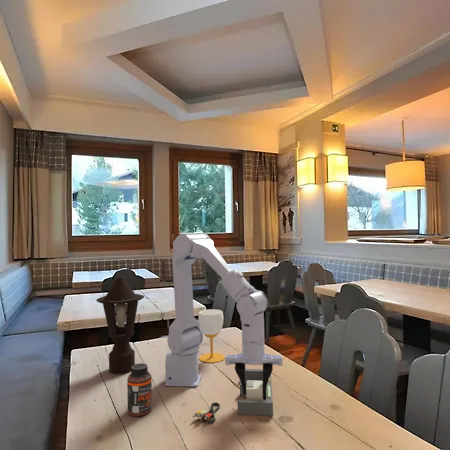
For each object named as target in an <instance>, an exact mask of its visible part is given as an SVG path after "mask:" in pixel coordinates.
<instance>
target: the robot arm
mask: <svg viewBox="0 0 450 450" xmlns="http://www.w3.org/2000/svg"><path fill="white" fill-rule="evenodd" d="M214 245H215V244H214V240H213V239H211V238H210V236H209V235H208V234H207V233H190V234H189V233H188V234H186V233H181V234H179V235H178V236H177V237H175V239H174V240H173V241H172V248H173V249H172V250H173V252H172V253H173V255H172V276H173V294H174V312H175V314H174V315H175V319H174V320H173V322H172V323H171V324H170V326H169V327H168V336H167V345H168V348H169V350H168V351H167V352H166V355H165V360H164V361H165V362H164V363H165V364H164V365H165V367H164V368H165V386H166V387H192V388H193V387H198V386H199V384H200V381H201V379H202V376H203V375H202V373H199V349H200V345H201V344H202V343H203V342H204V341H203V340H204V334H203V333H202V331H201V328H200V322H199V321H198V318H197V319H196V318H195V311H194V309H195V307H194V292H193V291H194V290H193V276H192V275H193V274H192V265H193V264H194V263H195V261H197V259H202V260H203V261H205V263H206V264H208V266H209V267H210V268H212V270H213V271H214V272H215V273H217V274H218V275H219V277H220V278H221V285H222V286H223V288H224V289H225V291H227V293H228V294H229V295H230V296H231V297H232V299H233V300H234V301H235V302H236V306H235V307H236V310H237V312H238V314H239V317H240V318H239V319H240V322H241V343H242V344H241V347H242V348H241V349H242V351H241V353H235V354H225V359H224V361H225V362H224V363H225V366H230V365H234V370H235V371H234V372H235V373H236V375H237V377H238V379H239V381H240V382H239V383H241V384H242V388H243V394H246V383H247V381H246V376H245V369H246V365H249V366H257V365H260V366H261V365H262V369H263V381H262V383H263V394H266V387H267V383H268V380H269V377H270V375H271V376H272V373H273V370H274V369H273V367H274V366H273V365H275V366H276V365H277V366H278V367H282V366H283V365H284V364H283V356H282V355H276V354H268V353H266V351H265V318H264V317H265V315H264V312H265V311H266V310H267V308H268V302H269V300H268V299H267V297H266V295H265V292H263V291H261V290H259V289H258V290H257V289H256V288H255V287H254V286H253V285H251V284H250V283H249V281H248V280H247V279H246V278H245V277H244V274H243V272H242V271H238V270H237V269H236V270H233V269H231V267H230V266H229V264H228V263H227V262H226V261H225V259H224V258H223V256H222V255H221V253H220V252H219V251H218V250H217V248H216V247H215V246H214Z"/></svg>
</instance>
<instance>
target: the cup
mask: <svg viewBox="0 0 450 450" xmlns="http://www.w3.org/2000/svg"><path fill="white" fill-rule="evenodd" d="M197 320H198V321H199V322H200V328H201V331H202V333H203V336H205V337H206V338H209V340H210V341H209V342H210V352H209V353H207V352H206V353H204V354H200V356H198V361H200V362H203V363H208V364H215V363H220V362H222V361H225V357H226V355H224V354H222V353H218V352H214V345H213V344H214V343H213V342H214V341H213V340H214V338H215V337H217V336H218V335H219V334H220V333H221V331H222V329H223V325H224V313H223V311H222V310H221V309H213V308H212V309H211V308H210V309H203V310H200V311H199V312H198V318H197Z"/></svg>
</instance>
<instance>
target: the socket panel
mask: <svg viewBox="0 0 450 450" xmlns="http://www.w3.org/2000/svg"><path fill="white" fill-rule="evenodd" d="M245 376H246V387H247V380H254V381H262V387H263V368H245ZM272 387H273V385H272V374H271V375H270V377H269V380H268V383H267V387H266V394H263V398H266V399H263V400H249V399H247V398H246V399H245V398H244V399H241V398H237V415H239V416H240V415H241V416H243V415H245V416H274V401H273V400H274V397H273V388H272ZM239 397H247V396H246V394H243V388H242V384H241V382H239Z"/></svg>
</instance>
